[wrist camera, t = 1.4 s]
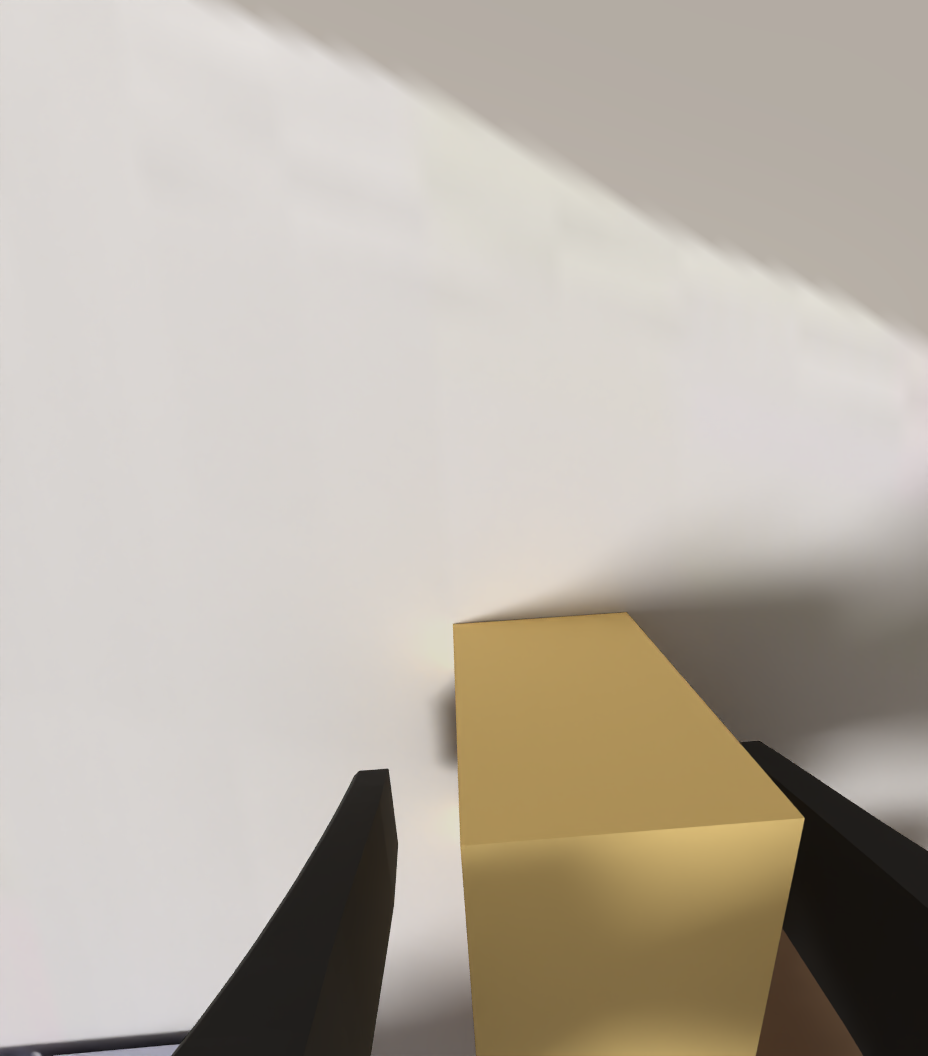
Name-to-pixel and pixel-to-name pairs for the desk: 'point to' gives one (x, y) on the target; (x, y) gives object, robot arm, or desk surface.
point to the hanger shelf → (800, 1013)
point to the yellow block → (611, 848)
